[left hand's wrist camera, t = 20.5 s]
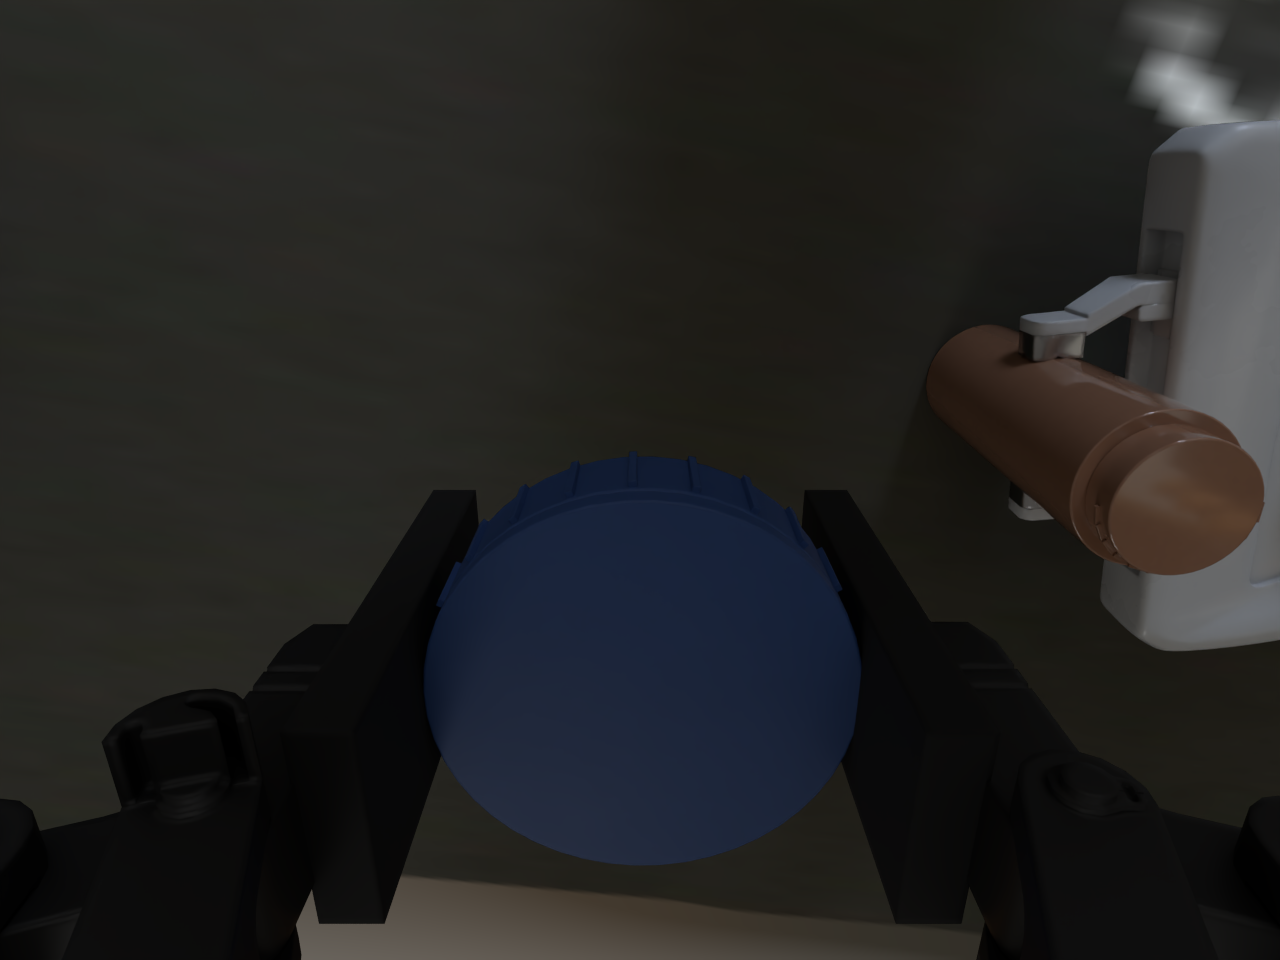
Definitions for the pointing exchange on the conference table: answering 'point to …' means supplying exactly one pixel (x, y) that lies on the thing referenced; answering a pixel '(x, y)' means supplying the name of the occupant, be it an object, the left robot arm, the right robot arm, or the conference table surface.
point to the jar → (1100, 452)
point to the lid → (642, 663)
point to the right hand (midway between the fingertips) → (1019, 421)
